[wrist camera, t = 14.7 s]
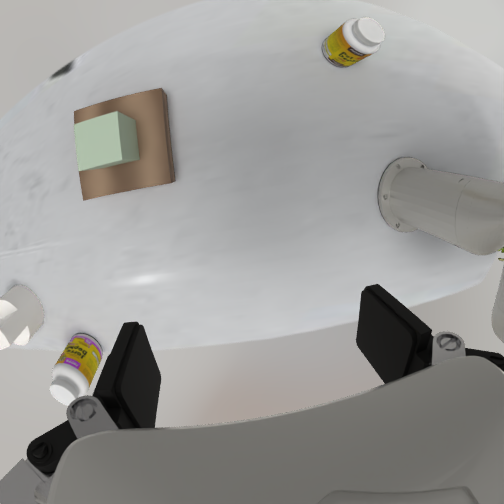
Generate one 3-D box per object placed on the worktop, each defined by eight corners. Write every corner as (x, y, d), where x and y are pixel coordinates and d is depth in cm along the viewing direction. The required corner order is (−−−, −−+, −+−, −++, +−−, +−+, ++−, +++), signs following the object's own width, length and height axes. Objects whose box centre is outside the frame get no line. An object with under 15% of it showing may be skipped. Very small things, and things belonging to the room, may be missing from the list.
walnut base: (166, 95, 31) (161, 88, 28) (175, 180, 35) (171, 183, 32) (86, 115, 30) (73, 111, 26) (94, 196, 34) (83, 200, 30)
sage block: (135, 120, 28) (117, 111, 22) (139, 159, 30) (122, 159, 23) (98, 129, 28) (73, 124, 21) (102, 168, 29) (78, 171, 23)
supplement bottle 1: (99, 334, 41) (74, 384, 29) (107, 363, 43) (88, 414, 31) (67, 330, 40) (38, 376, 28) (76, 358, 42) (53, 405, 30)
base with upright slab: (27, 278, 36) (-11, 310, 24) (52, 321, 39) (22, 361, 28) (3, 293, 36) (-32, 324, 24) (26, 332, 39) (-2, 368, 27)
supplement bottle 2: (323, 66, 33) (356, 43, 23) (318, 35, 31) (347, 7, 21) (356, 70, 33) (394, 52, 24) (351, 40, 31) (385, 17, 22)
